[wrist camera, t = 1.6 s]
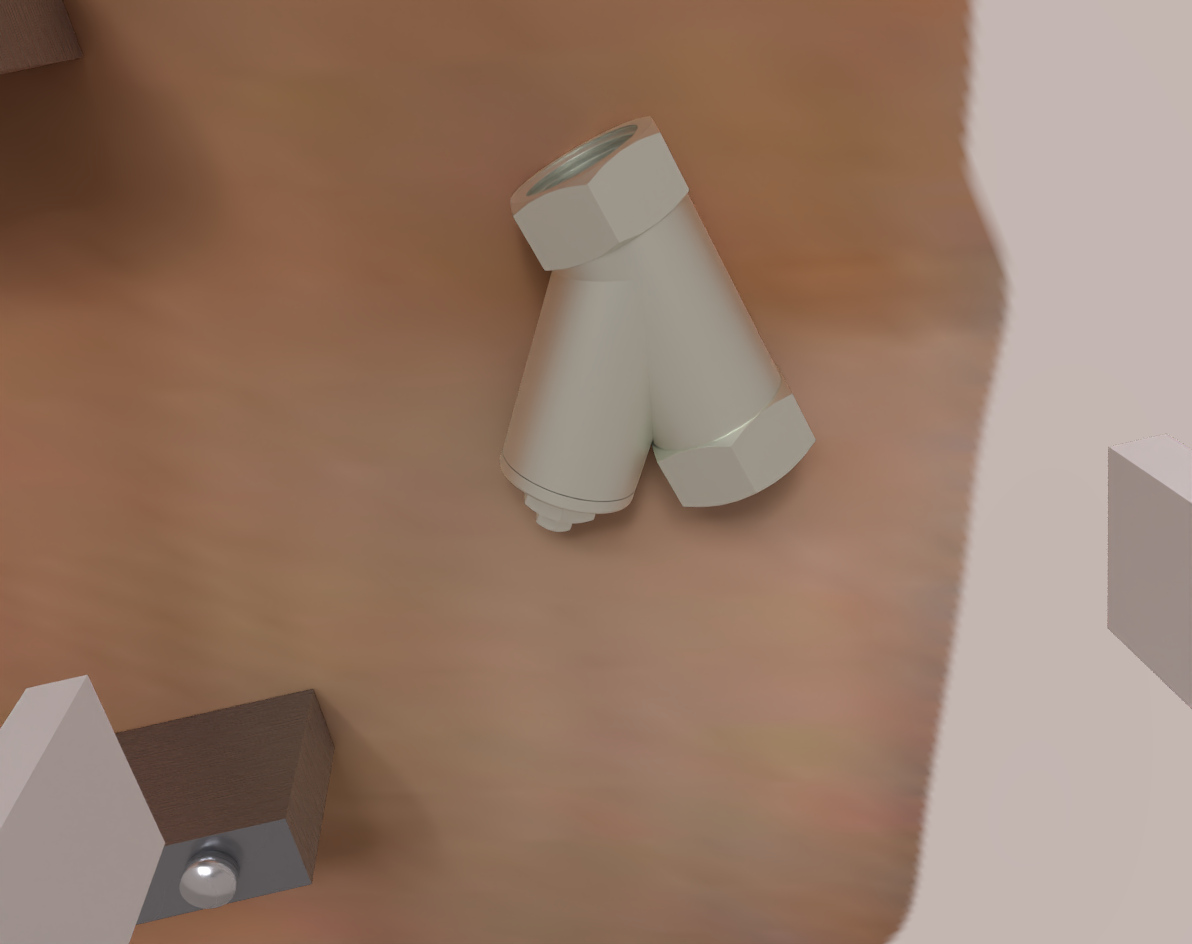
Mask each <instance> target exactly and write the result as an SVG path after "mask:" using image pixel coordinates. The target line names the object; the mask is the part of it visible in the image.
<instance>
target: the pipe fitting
mask: <svg viewBox="0 0 1192 944" xmlns="http://www.w3.org/2000/svg"><path fill="white" fill-rule="evenodd" d="M688 192H689V188H688V186H687V184H686V182H685V180H684V178H683V176H682V174H681V172H680V170H679V168H678V166H677V165H676V163H675V161H674V159H673V157H672V155H671V153H670V151H669V149H668V147H667V145H666V143H665V141H664V139H663V137H662V135H661V133H660V131H659V129H658V127H657V126H656V124H655V122H654V121H653V119H652V117H641V118H637V119H634V120H631V121H628V122H625V123H623V124H620V125H618V126H616V127H613V128H611V129H609V130H607V131H605V132H603V133H601V134H599V135H597V136H595V137H593V138H591V139H589V140H588V141H586V142H584V143H582V144H580V145H579V146H577V147H575V148H573V149H572V150H570V151H568V152H567V153H565V154H564V155H562V156H560V157H559V158H557V159H556V160H554V161H553V162H551V163H550V164H548V165H547V166H545V167H544V168H543V169H541V170H540V171H538V172H537V173H536V174H534V175H533V176H532V177H531V178H529V179H528V180H527V181H526V182H524V183H523V184H522V185H521V186H520V187H519V188H518V189H517V190H516V191H515V192H514V194H513V195H512V196H511V199H510V205H511V210H512V215H513V217H514V219H515V221H516V223H517V224H518V226H519V228H520V229H521V231H522V233H523V235H524V236H525V238H526V240H527V241H528V243H529V245H530V246H531V248H532V250H533V252H534V253H535V255H536V257H537V258H538V260H539V262H540V263H541V265H542V267H543V269H544V270H545V271H550V270H552V273H551V276H550V280H549V283H548V287H547V291H546V294H545V298H544V301H543V305H542V309H541V312H540V316H539V319H538V323H537V327H536V330H535V334H534V337H533V341H532V345H531V348H530V352H529V355H528V359H527V363H526V366H525V370H524V374H523V377H522V381H521V384H520V388H519V392H518V395H517V399H516V402H515V406H514V410H513V413H512V417H511V421H510V424H509V428H508V431H507V435H506V439H505V442H504V446H503V449H502V452H501V456H500V460H499V461H500V468H501V470H502V472H503V474H504V475H505V477H506V478H507V479H508V480H509V481H510V482H511V483H512V484H513V485H514V486H515V487H517V488H518V489H519V490H521V491H522V492H524V503H525V504H526V505H527V506H528V507H529V508H530V509H532V510H533V511H535V512H536V522H537V523H538V524H539V525H540V526H542V527H544V528H546V529H548V530H551V531H555V532H564V531H569V530H570V529H571V526H572V524H575V523H584V522H588V521H592V520H594V517H595V514H606V513H613V512H617V511H619V510H622V509H624V508H625V507H627V506H628V505H629V504H630V503H631V501H632V499H633V496H634V493H635V490H636V487H637V484H638V481H639V479H640V476H641V473H642V470H643V467H644V464H645V461H646V458H647V455H648V452H649V449H650V446H651V444H652V448H653V451H654V454H655V457H656V460H657V463H658V465H659V466H660V468H661V470H662V472H663V473H664V475H665V477H666V478H667V480H668V482H669V483H670V485H671V487H672V489H673V490H674V492H675V494H676V495H677V497H678V499H679V501H680V502H681V504H682V506H683V507H710V506H719V505H725V504H729V503H733V502H736V501H739V500H742V499H744V498H747V497H749V496H752V495H754V494H756V493H758V492H760V491H762V490H764V489H765V488H767V487H769V486H770V485H772V484H774V483H775V482H776V481H778V480H779V479H781V478H782V477H783V476H784V475H786V474H787V473H788V472H789V471H790V470H791V469H792V468H793V467H794V466H795V465H796V464H797V463H798V462H799V461H800V460H801V459H802V458H803V457H804V455H805V454H806V453H807V452H808V450H809V449H810V448H811V446H812V445H813V443H814V442H815V441H816V439H815V437H814V435H813V433H812V431H811V429H810V427H809V425H808V424H807V422H806V420H805V418H804V416H803V414H802V412H801V410H800V408H799V406H798V404H797V402H796V400H795V398H794V396H793V394H792V392H791V390H790V388H789V386H788V385H787V383H786V381H785V379H784V377H783V376H782V374H781V372H780V370H779V369H778V367H777V365H776V364H775V363H774V362H773V361H772V359H771V357H770V355H769V353H768V351H767V349H766V347H765V345H764V343H763V341H762V339H761V337H760V335H759V333H758V331H757V329H756V327H755V325H754V323H753V321H752V319H751V317H750V315H749V313H748V311H747V309H746V307H745V305H744V303H743V301H742V299H741V297H740V295H739V293H738V292H737V290H736V288H735V286H734V284H733V282H732V280H731V278H730V276H729V274H728V272H727V270H726V268H725V266H724V264H723V262H722V260H721V258H720V256H719V254H718V252H717V250H716V248H715V246H714V244H713V242H712V240H711V238H710V236H709V234H708V232H707V230H706V228H705V226H704V224H703V223H702V221H701V219H700V217H699V215H698V213H697V211H696V209H695V207H694V205H693V203H692V201H691V199H690V197H689V195H688Z"/></svg>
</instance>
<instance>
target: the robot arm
mask: <svg viewBox="0 0 1192 944" xmlns="http://www.w3.org/2000/svg"><path fill="white" fill-rule="evenodd" d="M1108 448H1109V449H1108V452H1109V453H1108V629H1109V630H1110V631H1111V632H1112V633H1113V634H1114V635H1115V636H1116V637H1117V638H1118V639H1120V640H1121V641H1122V642H1123V643H1124V644H1125V645H1126V646H1127V647H1128V648H1129V649H1130V650H1131V651H1132V652H1133V653H1134V654H1135V655H1136V656H1137V657H1138V658H1139V659H1140V660H1141V661H1142V662H1143V663H1144V664H1145V665H1147V666H1148V667H1149V668H1150V669H1151V670H1152V671H1153V672H1154V673H1155V674H1156V675H1157V676H1158V677H1159V678H1160V679H1161V680H1162V681H1163V682H1164V683H1165V684H1166V685H1167V686H1168V687H1169V688H1170V689H1171V690H1172V691H1173V692H1175V693H1176V694H1177V695H1178V696H1179V697H1180V698H1181V699H1182V700H1183V701H1184V702H1185V703H1186V704H1187V705H1188V706H1189V707H1190V708H1191V709H1192V449H1191V448H1189V447H1188V446H1186V445H1184V444H1183V443H1181V442H1180V441H1178V440H1176V439H1175V438H1173V437H1171V436H1170V435H1168V434H1162V435H1158V436H1153V437H1149V438H1145V439H1140V440H1136V441H1131V442H1127V443H1122V444H1118V445H1113V446H1109V447H1108ZM164 845H165V842H164V839H163V837H162V835H161V833H160V831H159V829H158V826H157V824H156V822H155V820H154V818H153V816H152V813H151V811H150V809H149V807H148V805H147V803H146V800H145V798H144V796H143V794H142V792H141V789H140V787H139V785H138V783H137V781H136V779H135V776H134V774H133V772H132V770H131V768H130V766H129V763H128V761H127V759H126V757H125V755H124V753H123V750H122V748H121V746H120V744H119V742H118V740H117V737H116V735H115V733H114V731H113V729H112V727H111V724H110V722H109V720H108V718H107V716H106V714H105V711H104V709H103V707H102V705H101V703H100V701H99V698H98V696H97V694H96V692H95V690H94V688H93V685H92V683H91V681H90V679H89V677H88V675H84V676H80V677H75V678H71V679H66V680H62V681H57V682H53V683H48V684H44V685H39V686H35V687H30V688H26V690H25V691H24V693H23V694H22V696H21V698H20V699H19V701H18V702H17V704H16V705H15V707H14V708H13V710H12V712H11V713H10V715H9V716H8V718H7V719H6V721H5V722H4V724H3V726H2V727H1V729H0V944H129V942H130V940H131V937H132V934H133V931H134V928H135V926H136V923H137V920H138V917H139V914H140V912H141V909H142V906H143V903H144V900H145V898H146V895H147V892H148V889H149V886H150V884H151V881H152V878H153V875H154V873H155V870H156V867H157V864H158V861H159V859H160V856H161V853H162V850H163V847H164Z"/></svg>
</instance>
